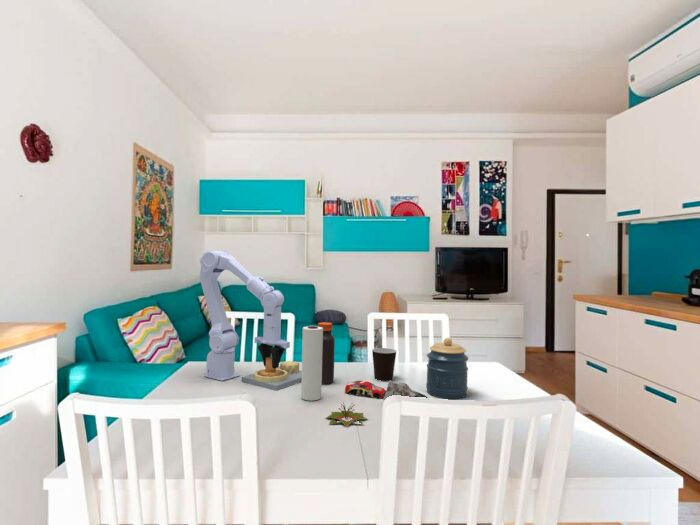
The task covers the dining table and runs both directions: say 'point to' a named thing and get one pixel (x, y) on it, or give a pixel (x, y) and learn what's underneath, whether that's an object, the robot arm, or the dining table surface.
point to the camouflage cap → (401, 390)
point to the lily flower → (345, 416)
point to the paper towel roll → (312, 363)
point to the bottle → (327, 353)
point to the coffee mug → (383, 363)
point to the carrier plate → (275, 384)
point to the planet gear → (269, 369)
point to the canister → (447, 370)
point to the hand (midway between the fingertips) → (271, 366)
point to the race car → (365, 389)
